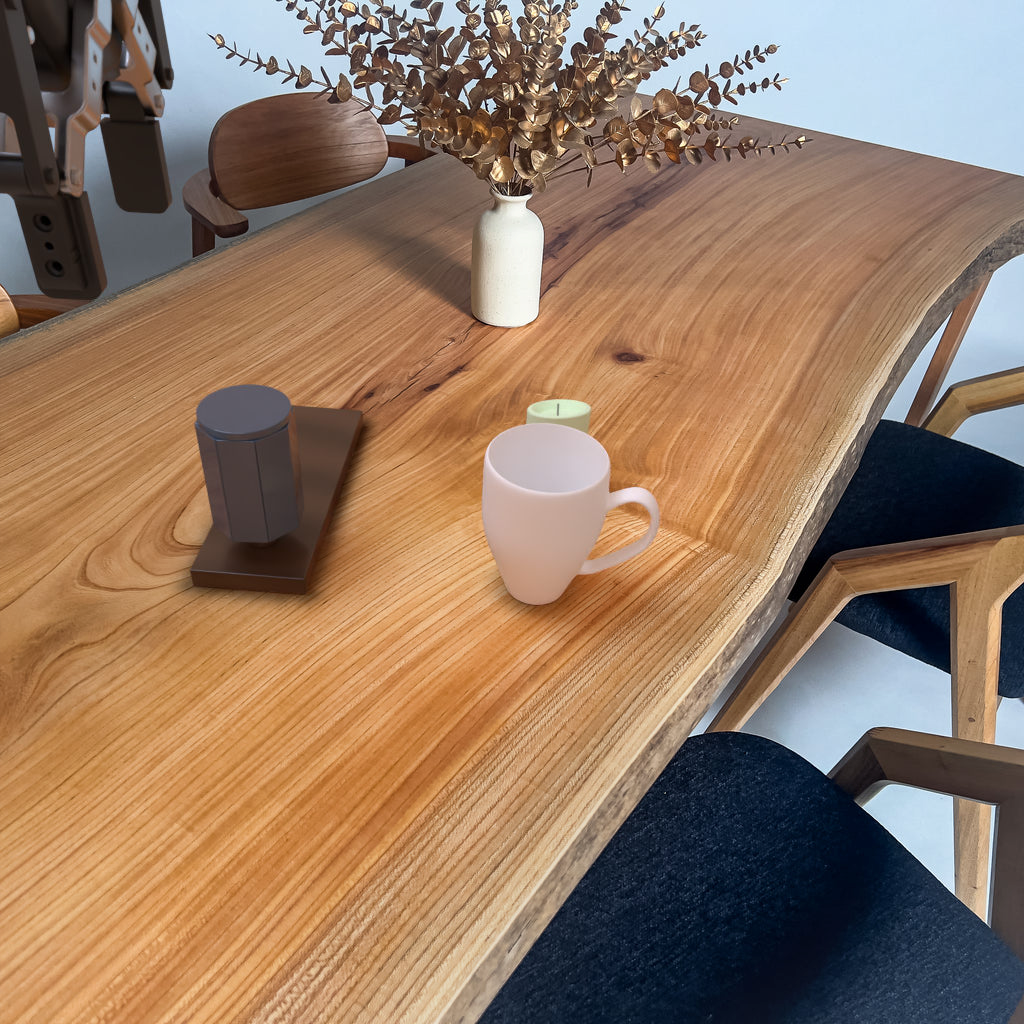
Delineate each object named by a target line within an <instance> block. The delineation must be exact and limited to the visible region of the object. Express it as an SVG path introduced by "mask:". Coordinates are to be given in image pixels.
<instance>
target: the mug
mask: <svg viewBox="0 0 1024 1024" xmlns="http://www.w3.org/2000/svg"><path fill="white" fill-rule="evenodd" d="M611 465H612V464H611V459H610V455H609V454H608V452H607V450H606V449H605V447H604V446H603V445H602V444H601V443H600V442H599V441H598V440H597V439H595V438H594V437H593V436H591V435H589V433H588V434H586V433H584V432H582V431H579V430H577V429H574V428H571V427H567V426H563V425H558V424H549V423H533V424H526V423H525V424H520V425H516V426H513V427H510V428H508V429H506V430H503V431H502V432H500V433H499V434H497V435H496V436H495V437H494V438H493V439H492V440H491V441H490V443H489V444H488V446H487V448H486V450H485V454H484V460H483V471H482V472H483V473H482V489H481V490H482V493H481V519H482V525H483V532H484V535H485V539H486V542H487V545H488V548H489V550H490V552H491V555H492V557H493V559H494V562H495V564H496V567H497V570H498V572H499V574H500V576H501V579H502V581H503V584H504V586H505V588H506V590H507V592H508V593H509V594H510V596H512V597H513V598H514V599H515V600H517V601H519V602H521V603H524V604H526V605H533V606H534V605H535V606H543V605H547V604H551V603H553V602H555V601H556V600H558V599H559V598H560V597H561V596H562V595H563V594H564V592H565V591H566V590H567V588H568V587H569V585H570V584H571V582H572V581H573V580H574V578H576V576H578V575H579V576H587V575H594V574H597V573H599V572H602V571H605V570H607V569H610V568H613V567H615V566H618V565H620V564H622V563H625V562H627V561H629V560H632V559H633V558H635V557H637V556H639V555H640V554H643V552H644V551H646V550H647V549H648V548H649V547H650V546H651V545H652V543H653V542H654V540H655V538H656V536H657V534H658V531H659V527H660V521H661V513H660V507H659V504H658V501H657V500H656V497H655V496H654V495H653V494H652V493H651V492H650V491H649V490H648V489H646V488H643V487H639V486H632V487H626V488H623V489H619V490H616V491H613V492H610V481H611V473H612V471H611V469H612V468H611V467H612V466H611ZM630 503H635V504H636V503H637V504H639V505H641V506H642V507H644V508H645V510H647V512H648V514H649V516H650V522H649V526H648V528H647V530H646V532H645V533H644V534H643V535H642V536H641V537H640V538H638V539H637V540H635V541H634V542H632V543H630V544H628V545H626V546H624V547H621V548H619V549H617V550H614V551H613V552H610V553H608V554H605V555H602V556H599V557H597V558H594V559H588V558H589V556H590V554H591V553H592V551H593V549H594V547H595V546H596V544H597V542H598V540H599V537H600V535H601V533H602V530H603V527H604V524H605V521H606V519H607V515H608V513H609V512H610V511H612V510H614V509H616V508H618V507H620V506H622V505H626V504H630Z"/></svg>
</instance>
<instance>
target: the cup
mask: <svg viewBox="0 0 1024 1024" xmlns="http://www.w3.org/2000/svg"><path fill="white" fill-rule="evenodd" d="M291 405H292V403H291V400H290V398H289V397H288V395H287V394H285V393H284V392H282V391H281V390H280V389H277V388H275V387H272V386H268V385H263V384H253V383H252V384H247V383H245V384H236V385H230V386H227V387H226V386H225V387H223V388H219V389H217V390H216V391H213V392H211V393H209V394H207V395H206V396H205V397H203V398H202V399H201V400H200V402H199V403H198V404H197V407H196V409H195V417H196V419H195V421H194V430H195V435H196V440H197V445H198V451H199V456H200V461H201V467H202V471H203V478H204V482H205V488H206V494H207V498H208V499H207V500H208V503H209V509H210V513H211V519H212V525H213V524H214V526H215V527H217V528H218V529H219V530H220V531H221V532H222V533H224V534H225V535H226V536H227V537H228V538H229V539H230V540H232V541H234V542H258V543H268V542H272V541H274V540H275V539H277V538H279V537H281V536H283V535H285V534H287V533H289V532H291V531H293V530H295V529H297V528H298V527H299V526H300V522H301V518H302V515H303V511H304V507H305V504H304V495H303V486H302V476H301V467H300V457H299V448H298V439H297V429H296V420H295V410H294V407H293V406H291Z"/></svg>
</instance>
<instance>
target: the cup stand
mask: <svg viewBox="0 0 1024 1024" xmlns="http://www.w3.org/2000/svg"><path fill="white" fill-rule="evenodd" d="M291 406H293V407H294V410H295V420H296V429H297V439H298V448H299V457H300V467H301V476H302V486H303V495H304V504H305V507H304V511H303V515H302V518H301V522H300V526H299V527H298V528H297V529H295V530H293V531H291V532H289V533H287V534H285V535H283V536H281V537H279V538H277V539H275V540H274V541H272V542H268V543H258V542H234V541H232V540H230V539H229V538H228V537H227V536H226V535H225V534H224V533H222V532H221V531H220V530H219V529H218V528H217V527H215V526H214V524H213V523H212V524H211V526H210V529H209V531H208V533H207V535H206V537H205V539H204V540H203V542H202V545H201V547H200V549H199V551H198V553H197V555H196V557H195V559H194V561H193V563H192V564H191V567H190V569H189V572H190V577H191V581H192V586H195V587H205V588H218V589H219V588H220V589H231V590H245V591H254V592H255V591H256V592H266V593H267V592H269V593H280V594H293V595H294V594H295V595H307V592H308V590H309V587H310V583H311V581H312V578H313V575H314V572H315V569H316V567H317V563H318V560H319V557H320V554H321V551H322V548H323V545H324V542H325V539H326V536H327V533H328V531H329V528H330V524H331V521H332V518H333V515H334V513H335V509H336V506H337V504H338V500H339V497H340V494H341V491H342V489H343V486H344V483H345V480H346V477H347V474H348V470H349V467H350V464H351V462H352V459H353V456H354V454H355V453H354V452H355V449H356V447H357V444H358V441H359V438H360V434H361V432H362V429H363V426H364V416H363V415H364V414H363V413H364V412H363V410H359V409H357V410H356V409H347V408H345V409H344V408H334V407H333V408H332V407H320V406H319V407H318V406H309V405H308V406H307V405H294V404H291Z"/></svg>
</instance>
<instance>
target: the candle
mask: <svg viewBox="0 0 1024 1024" xmlns="http://www.w3.org/2000/svg"><path fill="white" fill-rule="evenodd" d="M591 416H592V407H591V406H590V404H588V403H586V402H584V401H581V400H575V399H567V398H565V399H564V398H562V399H561V398H559V399H558V398H557V399H547V400H541V401H537V402H534V403H532V404H530V405H529V406H528V407H527V409H526V419H525V424H533V423H549V424H558V425H563V426H567V427H571V428H574V429H577V430H579V431H582V432H584V433H586V434H588V435H589V429H590V424H591V423H590V422H591Z"/></svg>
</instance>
